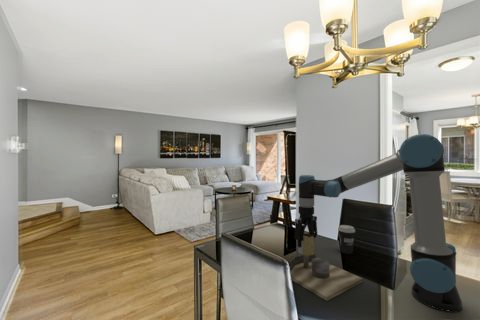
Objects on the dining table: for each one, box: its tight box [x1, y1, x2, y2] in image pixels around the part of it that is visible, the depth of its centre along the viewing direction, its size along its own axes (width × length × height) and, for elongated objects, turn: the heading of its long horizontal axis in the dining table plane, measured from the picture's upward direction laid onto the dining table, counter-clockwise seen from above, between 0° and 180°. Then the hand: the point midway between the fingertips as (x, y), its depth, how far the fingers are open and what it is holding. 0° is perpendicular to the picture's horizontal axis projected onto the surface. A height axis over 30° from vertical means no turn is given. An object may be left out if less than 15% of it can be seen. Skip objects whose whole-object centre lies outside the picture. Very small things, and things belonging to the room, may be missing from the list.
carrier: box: [287, 252, 364, 302], centre depth 109 cm, size 28×26×12 cm
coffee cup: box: [337, 224, 356, 255], centre depth 138 cm, size 10×10×15 cm
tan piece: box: [302, 231, 315, 256], centre depth 116 cm, size 7×7×9 cm
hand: (306, 251), depth 115 cm, fingers closed on tan piece, 7 cm apart
